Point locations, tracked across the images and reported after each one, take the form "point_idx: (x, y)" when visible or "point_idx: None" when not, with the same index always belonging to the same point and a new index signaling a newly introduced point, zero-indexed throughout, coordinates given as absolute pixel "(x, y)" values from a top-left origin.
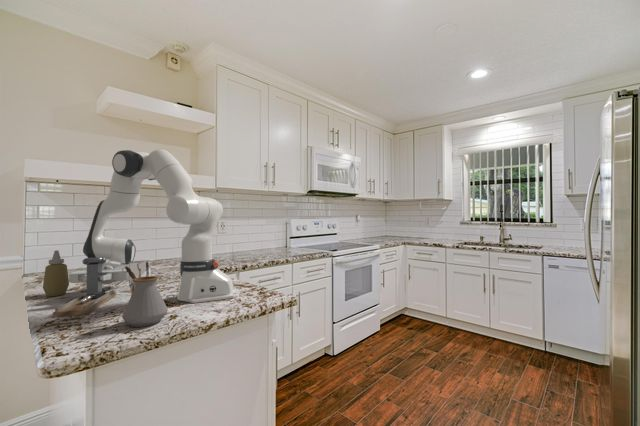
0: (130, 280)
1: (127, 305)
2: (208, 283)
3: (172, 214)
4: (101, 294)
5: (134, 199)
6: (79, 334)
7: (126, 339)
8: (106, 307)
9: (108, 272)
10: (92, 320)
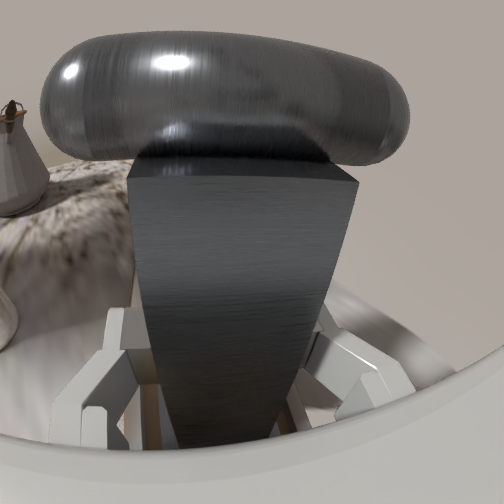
0: None
1: (39, 156)
2: None
3: None
4: (160, 409)
5: None
6: (112, 182)
7: (52, 172)
8: (97, 313)
9: (88, 445)
10: (108, 219)
